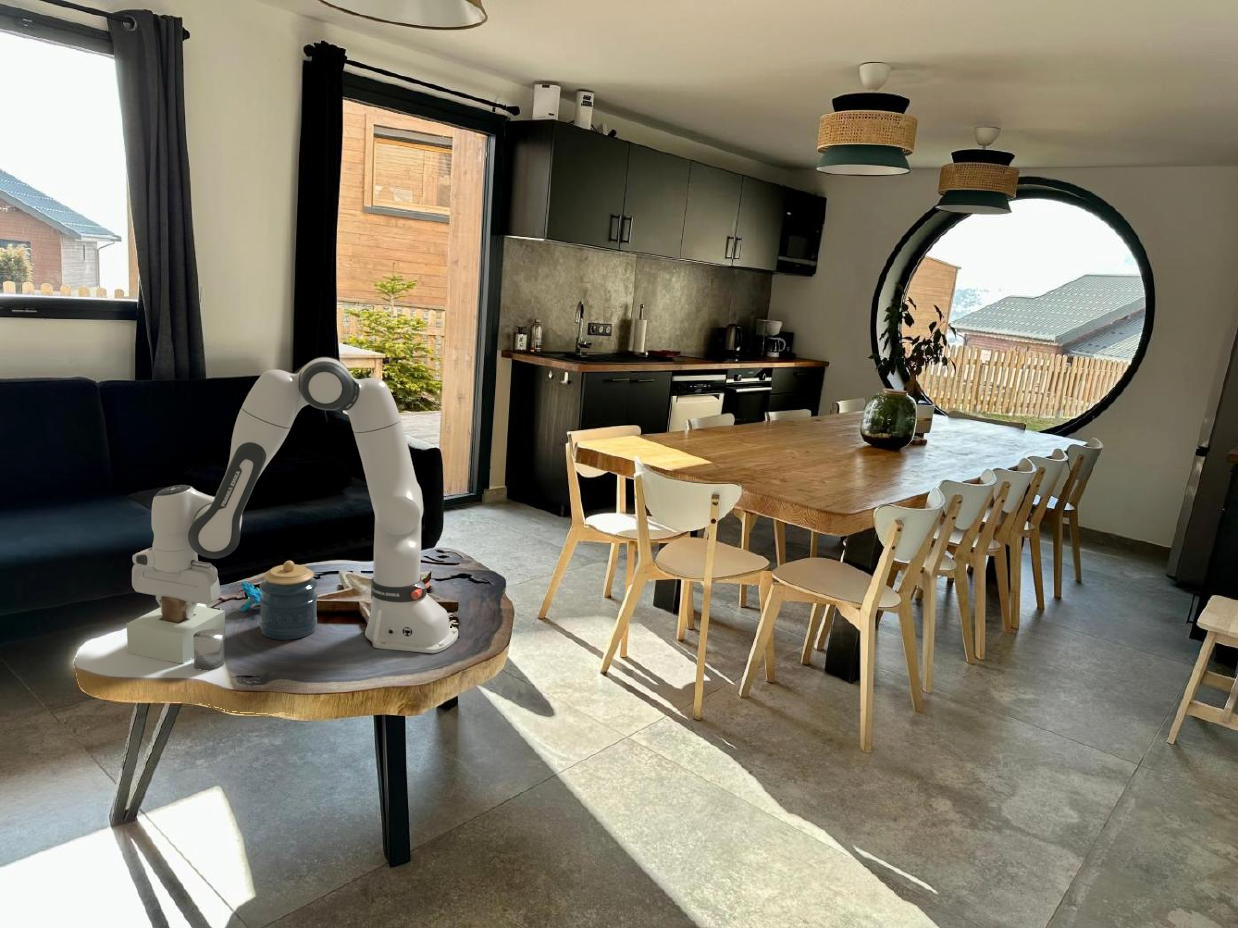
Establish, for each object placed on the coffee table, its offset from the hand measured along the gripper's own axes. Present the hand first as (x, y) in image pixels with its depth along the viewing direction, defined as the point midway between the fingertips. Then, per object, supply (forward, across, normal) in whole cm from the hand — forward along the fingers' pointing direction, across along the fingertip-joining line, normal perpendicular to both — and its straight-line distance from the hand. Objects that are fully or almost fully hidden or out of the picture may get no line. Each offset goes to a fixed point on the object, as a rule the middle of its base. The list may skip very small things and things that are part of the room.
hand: (177, 615), depth 190 cm
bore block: (+7, 0, 0) cm, 7 cm away
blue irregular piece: (+8, -3, -24) cm, 26 cm away
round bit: (+8, -12, +5) cm, 15 cm away
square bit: (+5, 0, 0) cm, 5 cm away
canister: (+8, -17, -17) cm, 25 cm away
